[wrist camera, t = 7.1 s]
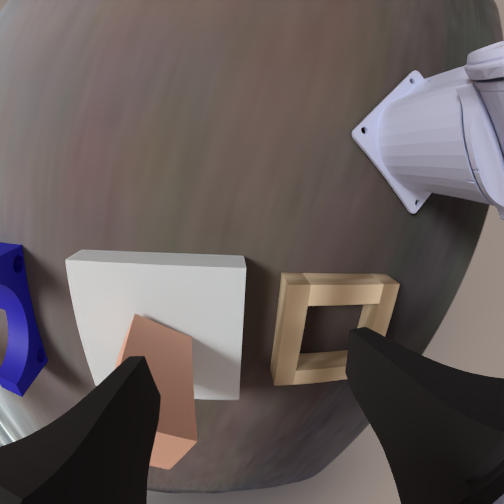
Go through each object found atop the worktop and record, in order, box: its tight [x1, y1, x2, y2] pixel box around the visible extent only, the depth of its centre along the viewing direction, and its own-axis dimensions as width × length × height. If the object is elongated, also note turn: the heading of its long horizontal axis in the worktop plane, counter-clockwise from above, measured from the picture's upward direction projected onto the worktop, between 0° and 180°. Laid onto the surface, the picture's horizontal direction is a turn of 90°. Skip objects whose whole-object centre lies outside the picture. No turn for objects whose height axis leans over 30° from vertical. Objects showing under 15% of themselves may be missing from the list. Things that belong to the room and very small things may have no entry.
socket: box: [270, 273, 400, 386], centre depth 20 cm, size 9×9×2 cm
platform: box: [65, 250, 246, 400], centre depth 18 cm, size 12×11×2 cm
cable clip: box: [0, 243, 48, 397], centre depth 15 cm, size 12×4×6 cm, turn 175°
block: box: [114, 314, 197, 469], centre depth 13 cm, size 4×4×8 cm
